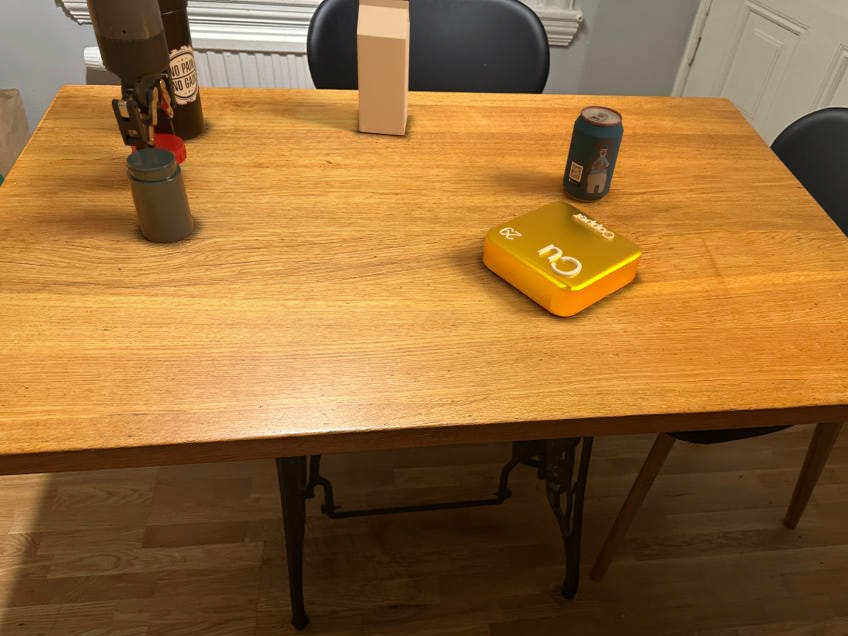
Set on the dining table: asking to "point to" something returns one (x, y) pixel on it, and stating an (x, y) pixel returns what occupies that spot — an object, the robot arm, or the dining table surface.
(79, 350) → the dining table surface
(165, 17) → the water bottle
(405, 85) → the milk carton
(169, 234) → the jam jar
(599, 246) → the element tile
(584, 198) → the soda can
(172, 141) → the jar lid
